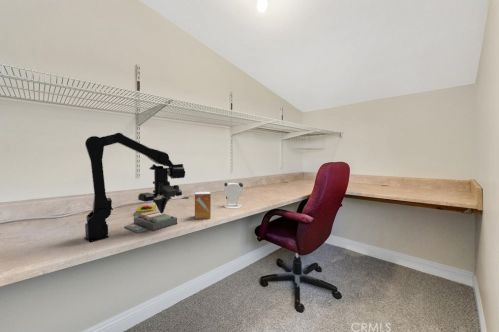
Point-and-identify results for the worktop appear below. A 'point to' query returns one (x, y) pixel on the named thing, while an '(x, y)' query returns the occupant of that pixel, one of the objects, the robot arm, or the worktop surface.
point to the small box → (202, 205)
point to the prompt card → (135, 228)
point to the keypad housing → (154, 226)
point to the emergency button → (145, 209)
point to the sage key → (161, 218)
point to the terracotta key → (147, 214)
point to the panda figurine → (233, 195)
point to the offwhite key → (153, 216)
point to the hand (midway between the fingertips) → (161, 213)
